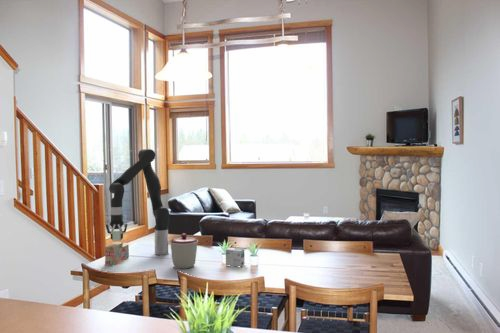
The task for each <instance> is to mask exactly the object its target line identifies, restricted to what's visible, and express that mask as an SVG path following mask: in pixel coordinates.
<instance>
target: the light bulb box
mask: <svg viewBox="0 0 500 333" xmlns="http://www.w3.org/2000/svg"><path fill="white" fill-rule="evenodd" d="M244 264H246V263H245V248H241V247H228V248H226V249H225V266H226V265H230V266H229V267H231V266H240V267H239V268H242V267H244V266H245V265H244ZM243 265H244V266H243ZM241 266H242V267H241Z"/></svg>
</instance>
